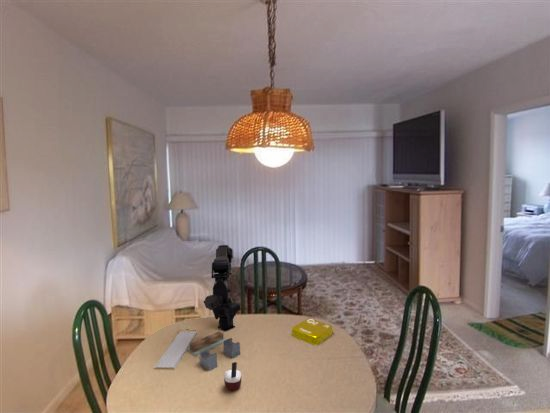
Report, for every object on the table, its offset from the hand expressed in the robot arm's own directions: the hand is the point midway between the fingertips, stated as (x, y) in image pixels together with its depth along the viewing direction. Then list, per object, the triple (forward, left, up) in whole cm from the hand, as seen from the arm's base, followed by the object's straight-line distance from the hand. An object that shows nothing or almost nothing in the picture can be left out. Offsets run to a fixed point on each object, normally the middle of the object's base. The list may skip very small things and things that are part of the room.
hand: (223, 321), depth 150 cm
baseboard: (+15, -15, -13) cm, 25 cm away
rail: (+4, -7, -11) cm, 14 cm away
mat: (+4, -7, -12) cm, 14 cm away
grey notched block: (+13, +7, -12) cm, 19 cm away
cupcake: (+15, +25, -12) cm, 32 cm away
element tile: (-36, +22, -13) cm, 44 cm away
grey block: (+1, +7, -12) cm, 14 cm away
